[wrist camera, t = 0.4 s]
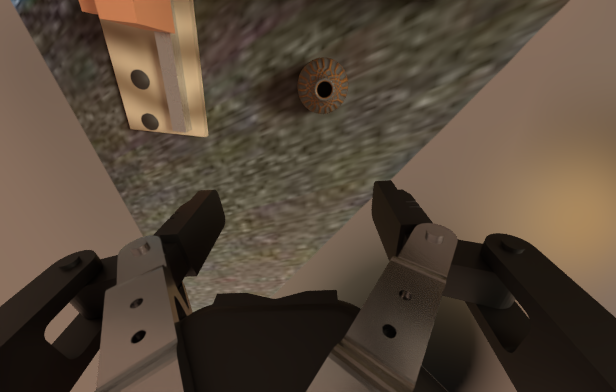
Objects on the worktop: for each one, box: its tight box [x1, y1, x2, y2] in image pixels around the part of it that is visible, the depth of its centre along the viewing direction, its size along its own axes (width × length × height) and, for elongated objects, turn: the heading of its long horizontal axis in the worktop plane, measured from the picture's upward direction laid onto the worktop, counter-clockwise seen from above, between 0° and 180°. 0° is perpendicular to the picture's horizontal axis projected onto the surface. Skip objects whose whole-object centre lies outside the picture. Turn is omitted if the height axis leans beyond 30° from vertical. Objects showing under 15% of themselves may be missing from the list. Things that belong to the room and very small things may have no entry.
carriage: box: [79, 0, 175, 34], centre depth 25 cm, size 4×8×9 cm, turn 84°
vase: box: [297, 57, 348, 114], centre depth 30 cm, size 7×7×9 cm
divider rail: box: [154, 0, 192, 132], centre depth 29 cm, size 23×8×3 cm, turn 174°
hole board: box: [100, 0, 208, 137], centre depth 31 cm, size 25×12×1 cm, turn 174°
